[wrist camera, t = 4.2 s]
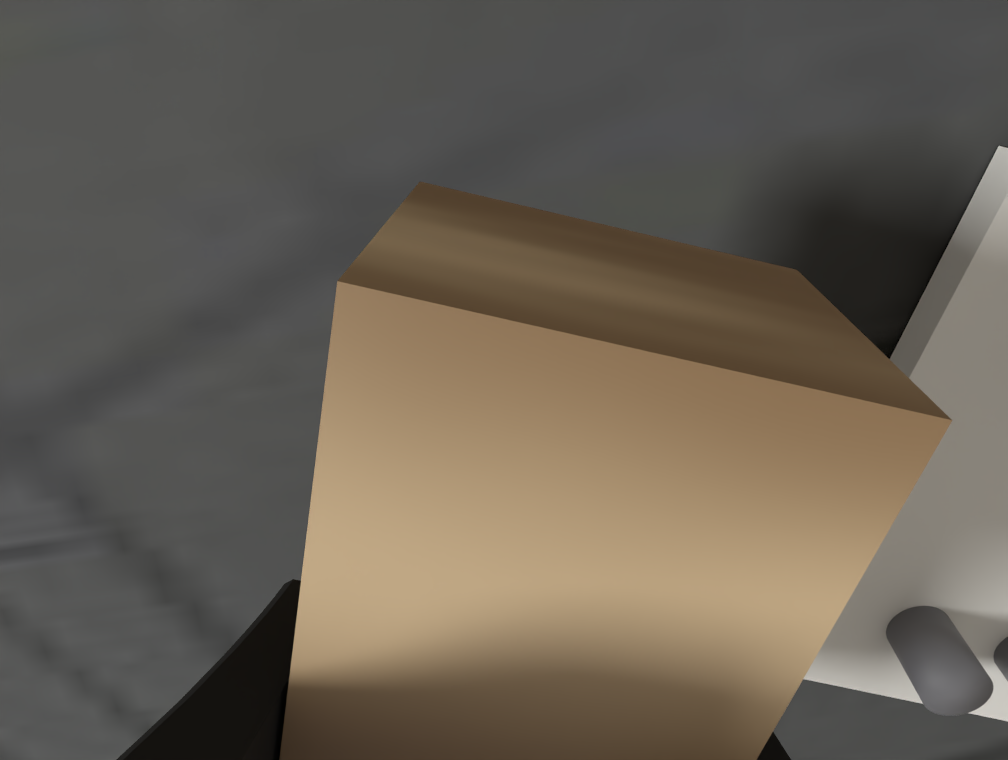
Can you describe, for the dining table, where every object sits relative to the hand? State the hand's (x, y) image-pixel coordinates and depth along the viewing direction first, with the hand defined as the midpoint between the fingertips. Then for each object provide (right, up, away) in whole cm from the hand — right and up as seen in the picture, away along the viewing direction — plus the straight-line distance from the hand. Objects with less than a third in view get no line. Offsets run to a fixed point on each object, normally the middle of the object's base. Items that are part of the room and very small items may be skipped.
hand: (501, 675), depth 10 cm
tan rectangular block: (0, +1, +2) cm, 2 cm away
